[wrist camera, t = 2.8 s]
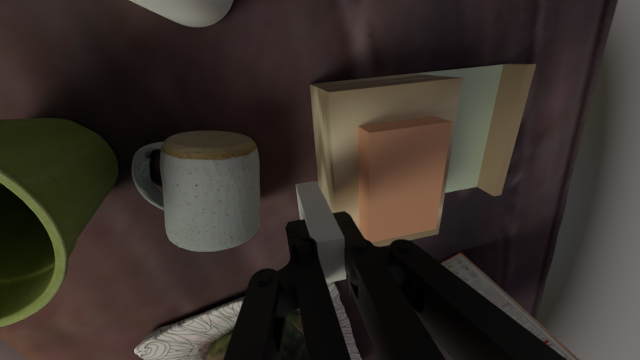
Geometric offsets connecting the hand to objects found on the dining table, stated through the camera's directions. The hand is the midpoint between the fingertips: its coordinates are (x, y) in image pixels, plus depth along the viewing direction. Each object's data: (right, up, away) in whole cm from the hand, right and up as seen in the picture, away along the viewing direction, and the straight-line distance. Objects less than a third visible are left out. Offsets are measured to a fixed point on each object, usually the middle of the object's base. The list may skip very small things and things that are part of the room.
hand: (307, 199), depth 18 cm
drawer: (+16, +6, +10) cm, 20 cm away
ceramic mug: (-10, +2, +6) cm, 12 cm away
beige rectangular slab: (+5, +5, +8) cm, 11 cm away
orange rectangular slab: (+7, +2, +2) cm, 7 cm away
